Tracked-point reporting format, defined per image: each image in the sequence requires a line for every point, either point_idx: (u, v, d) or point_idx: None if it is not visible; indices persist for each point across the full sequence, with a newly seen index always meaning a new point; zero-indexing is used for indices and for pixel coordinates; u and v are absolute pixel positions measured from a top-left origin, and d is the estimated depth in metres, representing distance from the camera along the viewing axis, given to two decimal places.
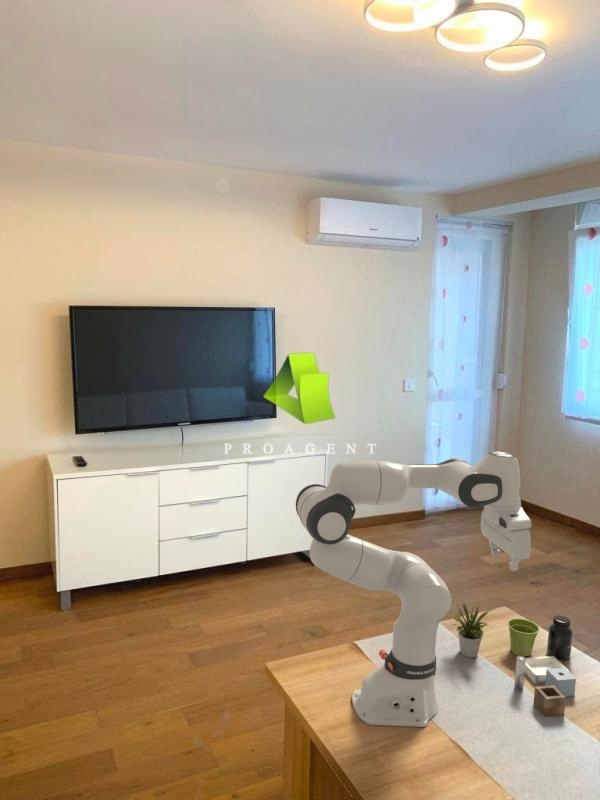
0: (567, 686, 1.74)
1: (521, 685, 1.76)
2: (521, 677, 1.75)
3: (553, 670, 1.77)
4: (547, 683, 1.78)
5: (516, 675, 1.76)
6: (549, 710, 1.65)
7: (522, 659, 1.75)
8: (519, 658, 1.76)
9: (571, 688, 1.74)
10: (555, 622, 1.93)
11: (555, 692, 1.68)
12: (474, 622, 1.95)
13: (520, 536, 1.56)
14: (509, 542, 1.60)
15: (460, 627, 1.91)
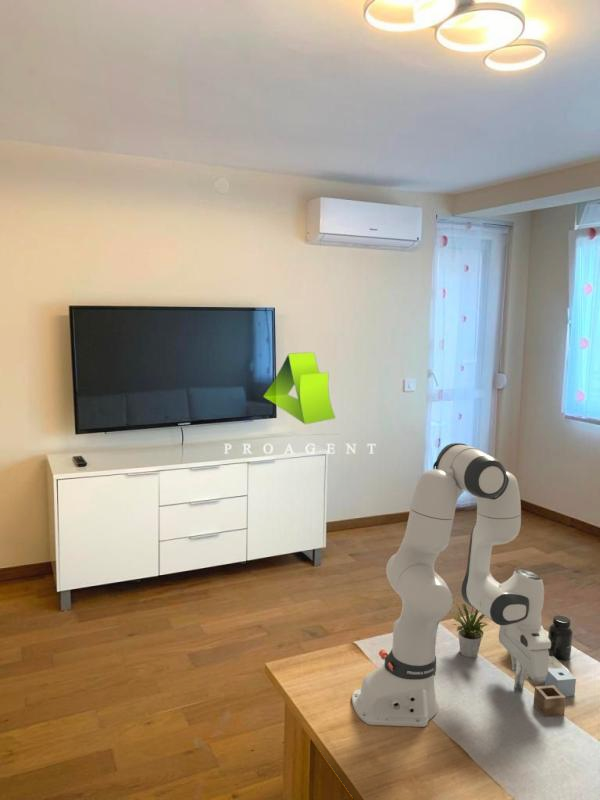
0: (567, 686, 1.74)
1: (521, 685, 1.76)
2: None
3: (553, 670, 1.77)
4: (547, 683, 1.78)
5: (516, 675, 1.76)
6: (549, 710, 1.65)
7: None
8: None
9: (571, 688, 1.74)
10: (555, 622, 1.93)
11: (555, 692, 1.68)
12: (474, 622, 1.95)
13: (539, 656, 1.66)
14: (528, 659, 1.69)
15: (460, 627, 1.91)
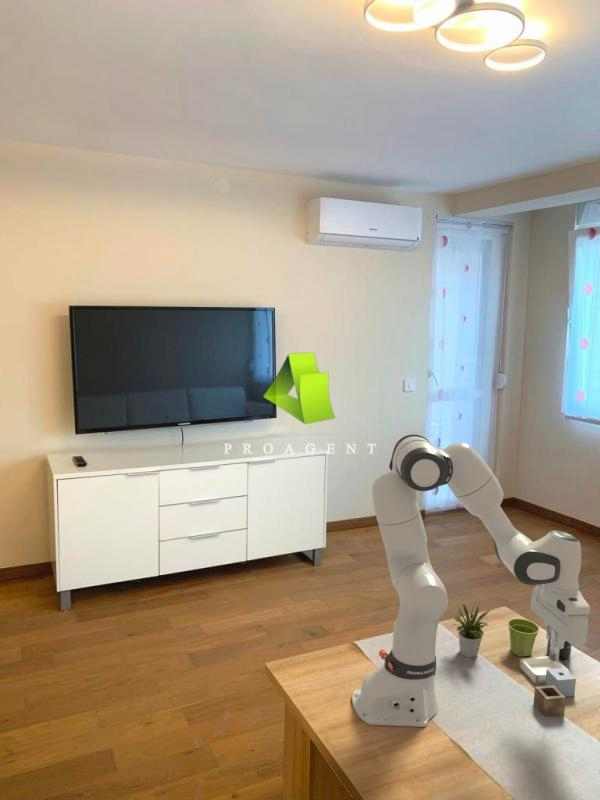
0: (567, 686, 1.74)
1: (556, 655, 1.65)
2: None
3: (553, 670, 1.77)
4: (547, 683, 1.78)
5: (551, 644, 1.65)
6: (549, 710, 1.65)
7: None
8: None
9: (571, 688, 1.74)
10: None
11: (555, 692, 1.68)
12: (474, 622, 1.95)
13: (578, 622, 1.55)
14: (565, 626, 1.58)
15: (460, 627, 1.91)
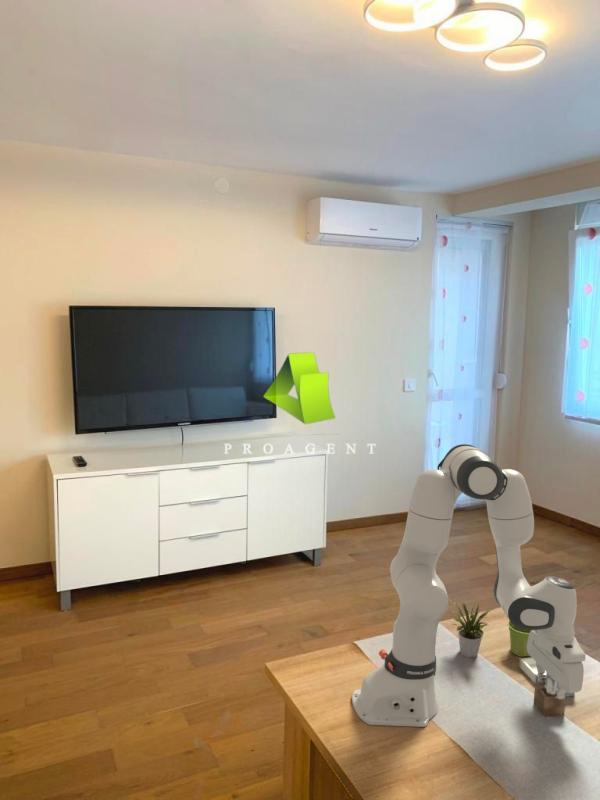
0: None
1: None
2: None
3: None
4: None
5: None
6: (549, 710, 1.65)
7: (553, 680, 1.65)
8: (550, 678, 1.66)
9: None
10: None
11: None
12: (474, 622, 1.95)
13: (573, 670, 1.56)
14: (560, 672, 1.59)
15: (460, 627, 1.91)
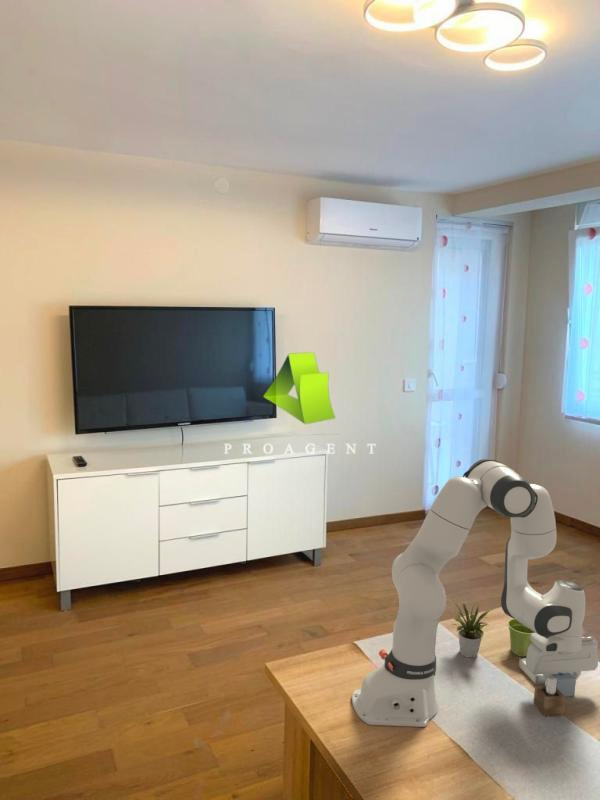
0: (567, 686, 1.74)
1: None
2: None
3: None
4: None
5: None
6: (549, 710, 1.65)
7: (553, 679, 1.66)
8: (550, 678, 1.66)
9: (571, 688, 1.74)
10: None
11: None
12: (474, 622, 1.95)
13: (531, 650, 1.74)
14: None
15: (460, 627, 1.91)
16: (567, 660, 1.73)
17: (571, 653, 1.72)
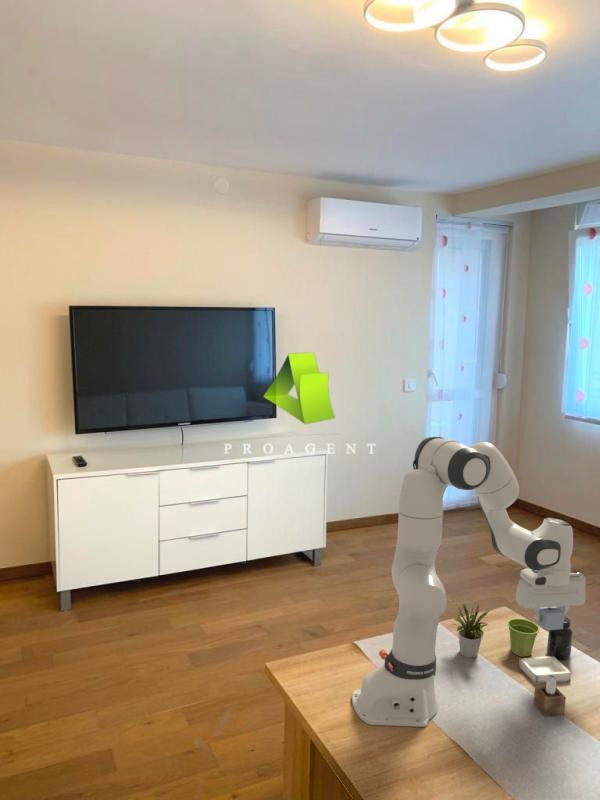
0: (555, 620, 1.80)
1: None
2: None
3: None
4: None
5: None
6: (549, 710, 1.65)
7: (552, 679, 1.66)
8: (549, 677, 1.66)
9: (560, 622, 1.80)
10: None
11: (555, 692, 1.68)
12: (474, 622, 1.95)
13: (521, 585, 1.80)
14: None
15: (460, 627, 1.91)
16: (555, 594, 1.80)
17: (559, 587, 1.78)
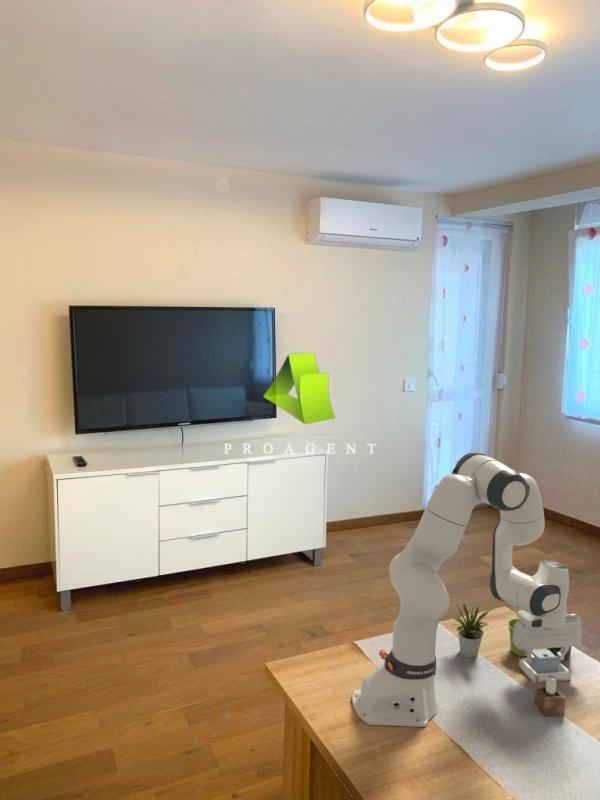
0: (551, 667, 1.82)
1: None
2: None
3: (537, 652, 1.85)
4: (532, 664, 1.86)
5: None
6: (549, 710, 1.65)
7: (552, 679, 1.66)
8: (549, 678, 1.66)
9: (555, 669, 1.82)
10: None
11: (555, 692, 1.68)
12: (474, 622, 1.95)
13: (517, 626, 1.82)
14: None
15: (460, 627, 1.91)
16: (552, 636, 1.81)
17: (555, 629, 1.80)
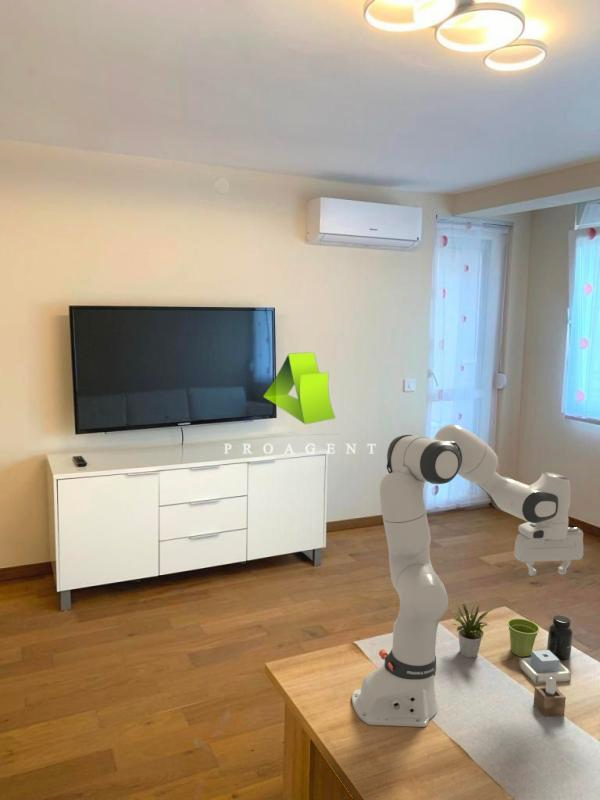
0: (551, 667, 1.82)
1: None
2: None
3: (537, 652, 1.85)
4: (532, 664, 1.86)
5: None
6: (549, 710, 1.65)
7: (552, 679, 1.66)
8: (549, 678, 1.66)
9: (555, 669, 1.82)
10: (555, 622, 1.93)
11: (555, 692, 1.68)
12: (474, 622, 1.95)
13: (519, 539, 1.81)
14: None
15: (460, 627, 1.91)
16: (553, 548, 1.81)
17: (557, 541, 1.79)
